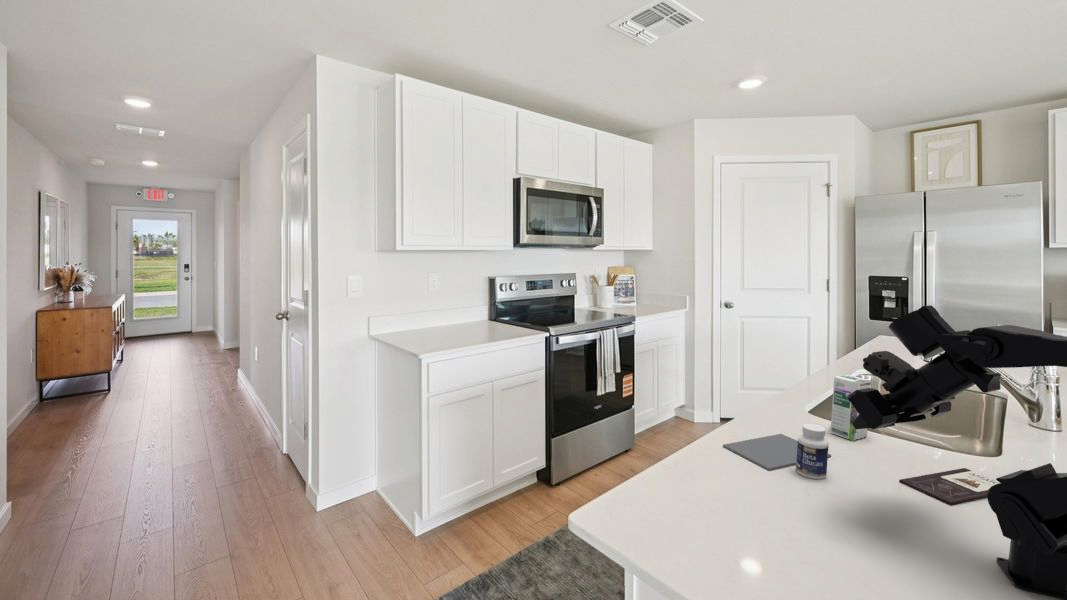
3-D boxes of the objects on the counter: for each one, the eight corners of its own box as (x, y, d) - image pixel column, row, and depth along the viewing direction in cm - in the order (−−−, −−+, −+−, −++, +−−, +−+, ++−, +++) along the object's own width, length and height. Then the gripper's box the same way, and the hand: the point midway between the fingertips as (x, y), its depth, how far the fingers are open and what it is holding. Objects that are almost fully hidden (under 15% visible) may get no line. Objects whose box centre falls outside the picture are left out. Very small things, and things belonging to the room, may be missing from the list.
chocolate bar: (899, 479, 93) (964, 467, 97) (898, 484, 93) (964, 472, 98) (950, 502, 84) (1019, 488, 89) (950, 507, 84) (1019, 493, 89)
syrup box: (829, 433, 117) (832, 376, 116) (844, 429, 120) (848, 373, 118) (852, 441, 112) (857, 381, 111) (868, 437, 115) (872, 378, 113)
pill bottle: (799, 477, 94) (802, 430, 93) (793, 466, 100) (795, 421, 99) (830, 481, 93) (833, 433, 92) (822, 469, 98) (825, 423, 97)
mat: (830, 457, 104) (831, 454, 104) (769, 470, 97) (769, 468, 97) (780, 435, 116) (780, 433, 116) (722, 446, 109) (722, 444, 109)
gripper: (936, 335, 83) (867, 381, 94) (863, 343, 76) (799, 391, 87) (988, 391, 76) (908, 433, 87) (914, 405, 69) (837, 448, 81)
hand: (862, 424), depth 86 cm, fingers open, 4 cm apart
